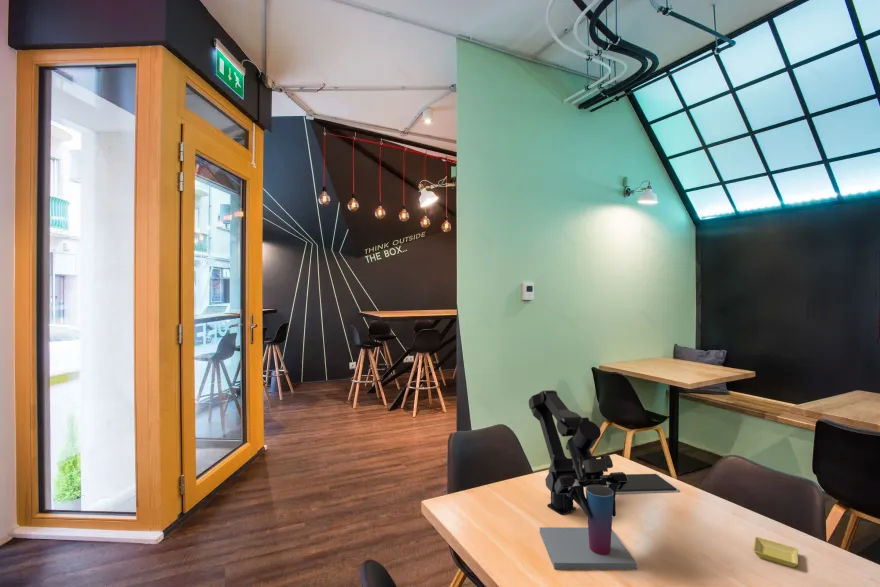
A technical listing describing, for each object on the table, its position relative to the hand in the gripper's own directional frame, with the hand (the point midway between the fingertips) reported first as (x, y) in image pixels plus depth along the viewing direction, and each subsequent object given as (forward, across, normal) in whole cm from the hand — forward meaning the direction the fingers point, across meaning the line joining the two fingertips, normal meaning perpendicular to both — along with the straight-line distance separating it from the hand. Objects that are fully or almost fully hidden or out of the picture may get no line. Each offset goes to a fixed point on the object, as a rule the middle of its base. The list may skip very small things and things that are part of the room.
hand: (602, 517), depth 105 cm
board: (+4, -3, +11) cm, 12 cm away
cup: (+5, 0, +8) cm, 9 cm away
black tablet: (-20, +31, +36) cm, 52 cm away
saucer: (+11, +44, +5) cm, 46 cm away
